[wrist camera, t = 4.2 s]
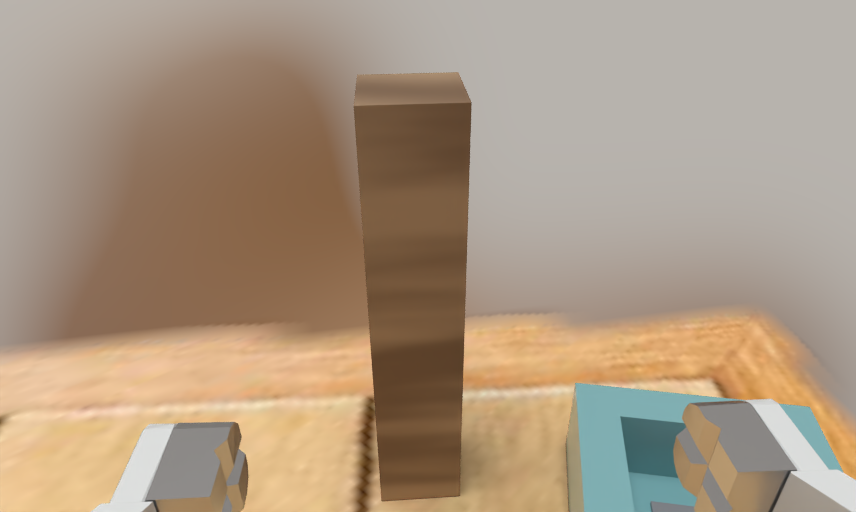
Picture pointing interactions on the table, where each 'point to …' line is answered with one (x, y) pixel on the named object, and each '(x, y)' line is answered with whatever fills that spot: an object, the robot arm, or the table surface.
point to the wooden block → (415, 271)
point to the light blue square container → (642, 448)
